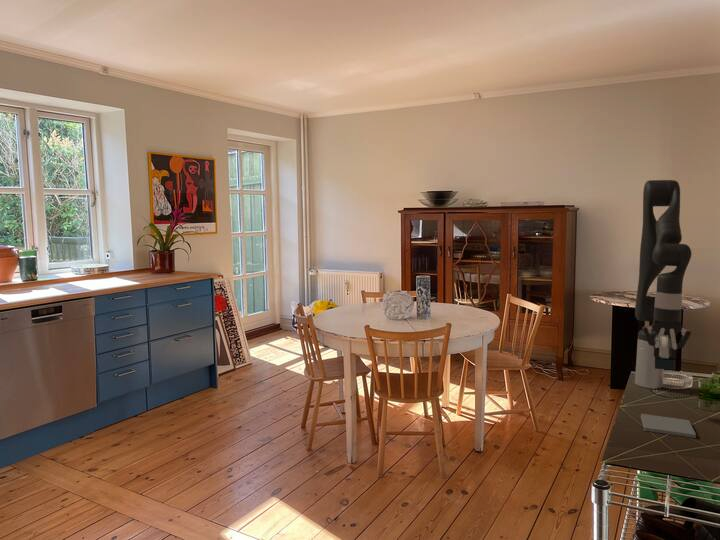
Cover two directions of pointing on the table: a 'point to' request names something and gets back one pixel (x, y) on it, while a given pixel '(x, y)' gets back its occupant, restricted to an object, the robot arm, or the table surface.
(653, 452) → the table surface
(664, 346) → the watch
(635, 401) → the table surface
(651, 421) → the mat
